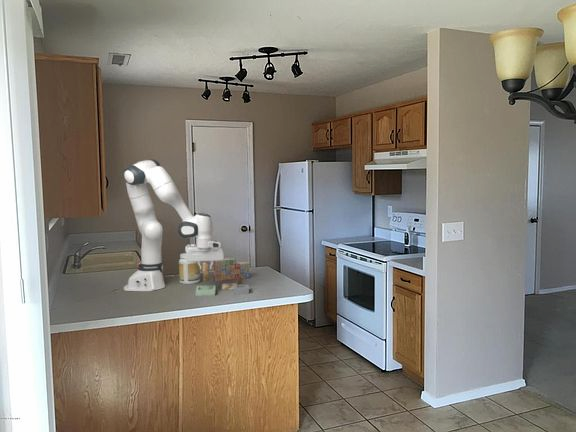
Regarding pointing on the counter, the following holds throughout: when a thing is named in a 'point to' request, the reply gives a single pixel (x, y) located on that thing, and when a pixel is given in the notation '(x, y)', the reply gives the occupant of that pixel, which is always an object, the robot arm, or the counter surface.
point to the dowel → (205, 271)
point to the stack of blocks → (231, 269)
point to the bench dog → (239, 280)
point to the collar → (241, 289)
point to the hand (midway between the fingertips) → (205, 269)
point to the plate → (228, 286)
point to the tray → (206, 290)
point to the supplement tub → (188, 271)
